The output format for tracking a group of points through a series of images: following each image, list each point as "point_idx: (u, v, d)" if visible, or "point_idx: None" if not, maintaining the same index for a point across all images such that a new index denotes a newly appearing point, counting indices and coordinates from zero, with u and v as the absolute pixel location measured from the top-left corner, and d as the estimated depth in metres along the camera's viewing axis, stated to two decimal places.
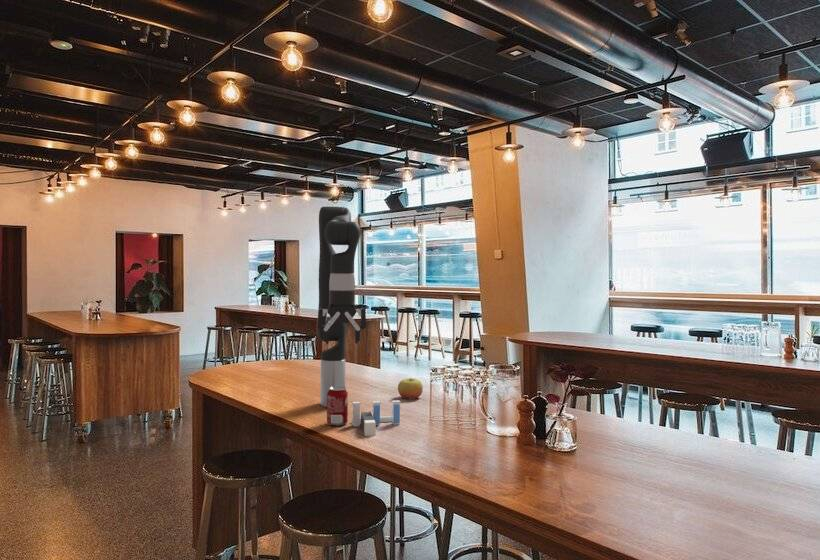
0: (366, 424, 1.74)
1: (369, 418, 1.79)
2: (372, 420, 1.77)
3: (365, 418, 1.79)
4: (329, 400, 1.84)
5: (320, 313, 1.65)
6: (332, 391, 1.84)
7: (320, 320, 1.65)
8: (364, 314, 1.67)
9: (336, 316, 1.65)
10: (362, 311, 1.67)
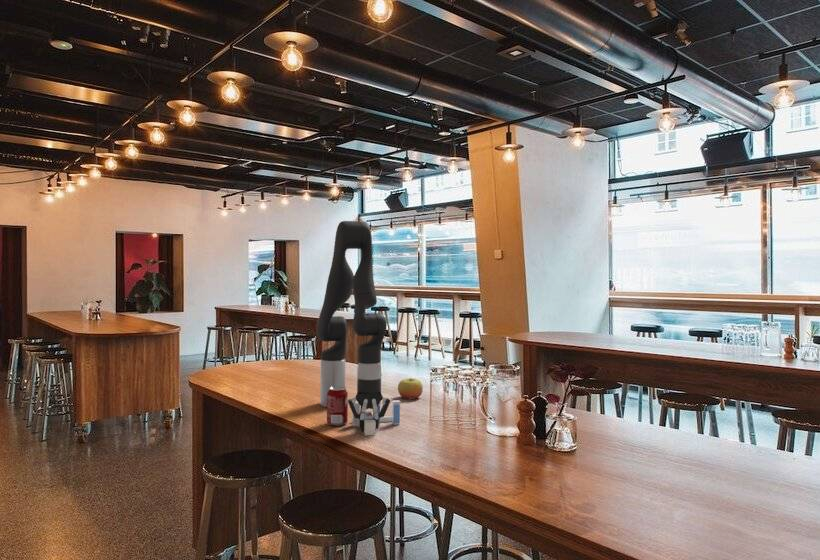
0: (366, 424, 1.74)
1: (369, 417, 1.79)
2: (372, 420, 1.76)
3: (365, 418, 1.79)
4: (329, 400, 1.84)
5: (351, 405, 1.76)
6: (332, 391, 1.84)
7: (354, 410, 1.76)
8: (387, 405, 1.78)
9: (365, 403, 1.76)
10: (387, 401, 1.78)
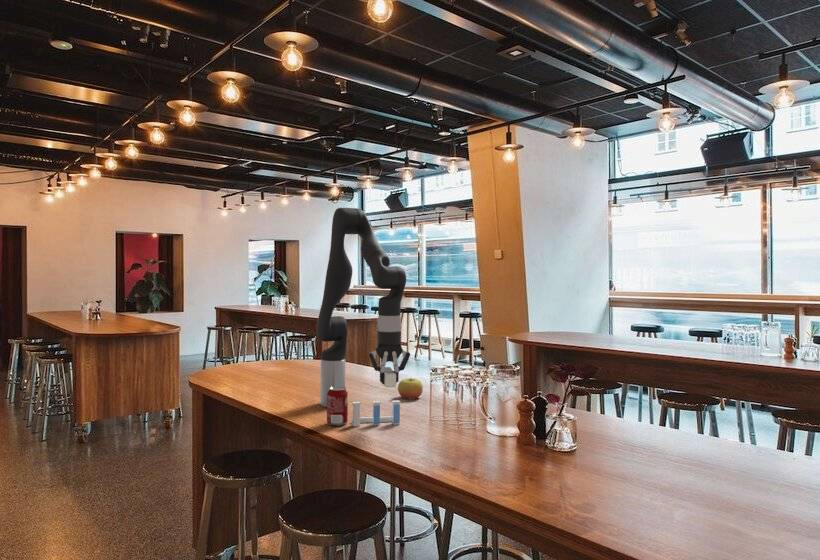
0: (387, 376, 1.74)
1: (389, 371, 1.80)
2: (392, 372, 1.77)
3: (385, 371, 1.79)
4: (329, 400, 1.84)
5: (371, 357, 1.76)
6: (332, 391, 1.84)
7: (374, 363, 1.76)
8: (407, 358, 1.78)
9: (385, 356, 1.76)
10: (407, 354, 1.78)
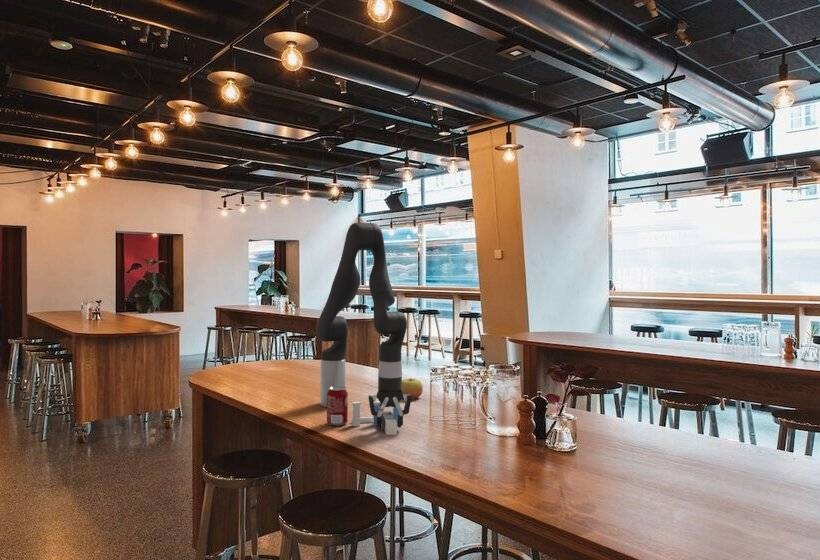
0: (387, 423, 1.75)
1: (389, 417, 1.80)
2: (393, 419, 1.78)
3: (386, 417, 1.80)
4: (329, 400, 1.84)
5: (371, 401, 1.77)
6: (332, 391, 1.84)
7: (372, 407, 1.77)
8: (409, 401, 1.79)
9: (385, 401, 1.77)
10: (408, 397, 1.79)
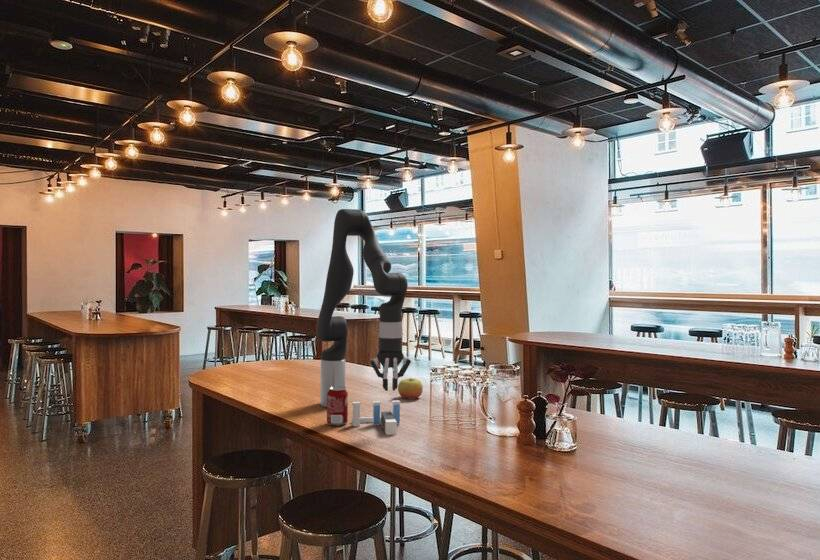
0: (387, 423, 1.75)
1: (389, 417, 1.80)
2: (393, 419, 1.78)
3: (386, 417, 1.80)
4: (329, 400, 1.84)
5: (373, 364, 1.77)
6: (332, 391, 1.84)
7: (377, 370, 1.77)
8: (407, 365, 1.79)
9: (386, 362, 1.77)
10: (407, 361, 1.79)
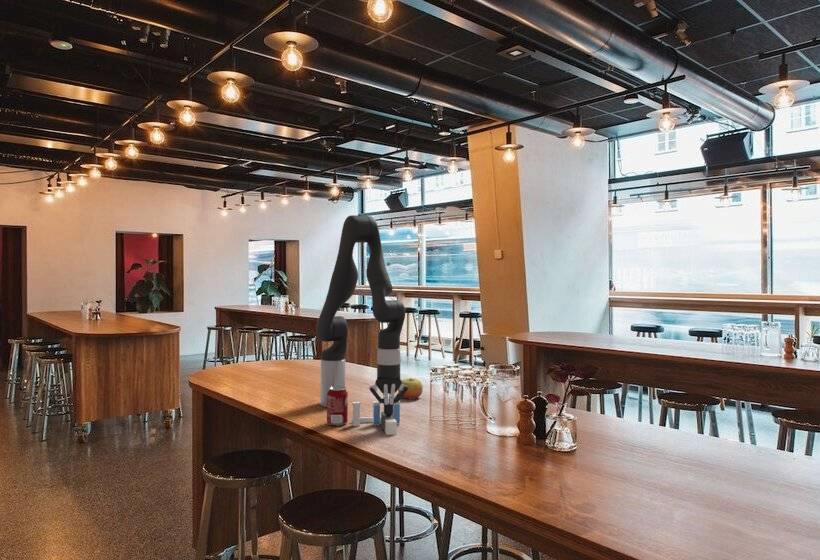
0: (387, 423, 1.75)
1: (389, 417, 1.80)
2: (393, 419, 1.78)
3: (386, 417, 1.80)
4: (329, 400, 1.84)
5: (373, 391, 1.80)
6: (332, 391, 1.84)
7: (377, 396, 1.80)
8: (404, 392, 1.82)
9: (385, 388, 1.80)
10: (405, 388, 1.82)
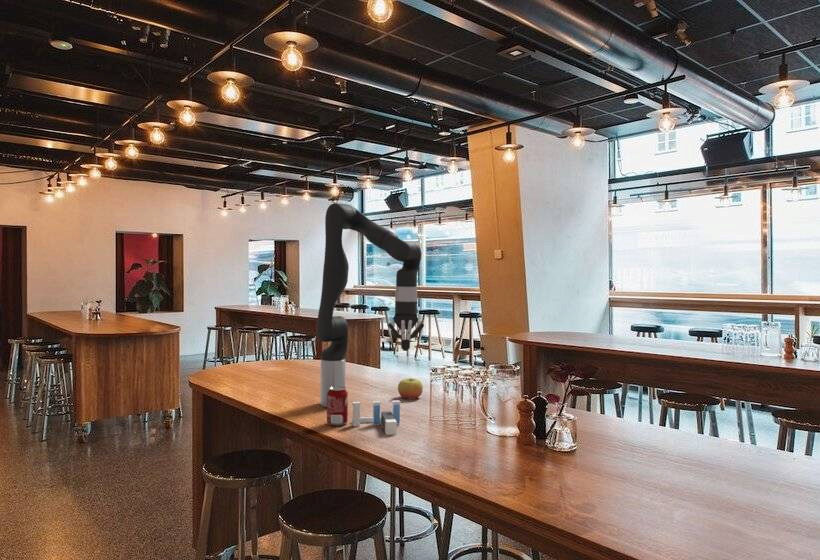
0: (387, 423, 1.75)
1: (389, 417, 1.80)
2: (393, 419, 1.78)
3: (386, 417, 1.80)
4: (329, 400, 1.84)
5: (391, 327, 1.90)
6: (332, 391, 1.84)
7: (395, 331, 1.90)
8: (420, 328, 1.91)
9: (402, 324, 1.90)
10: (421, 325, 1.91)
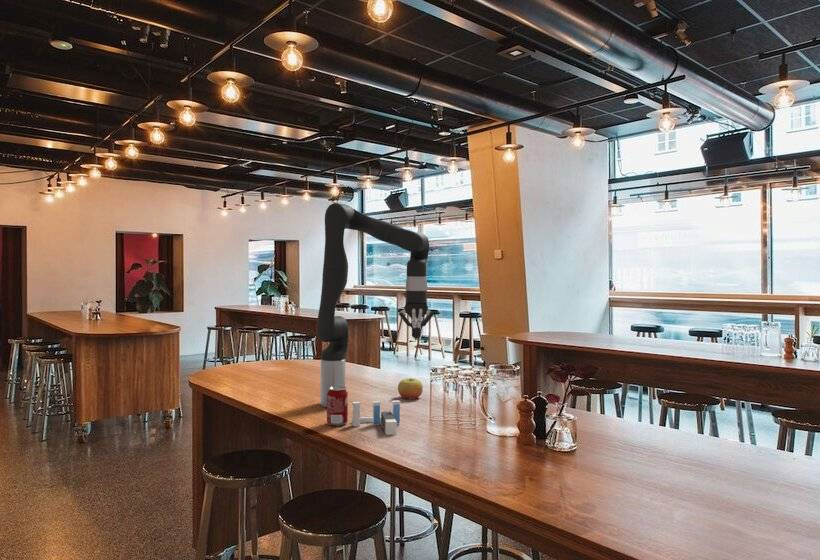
0: (387, 423, 1.75)
1: (389, 417, 1.80)
2: (393, 419, 1.78)
3: (386, 417, 1.80)
4: (329, 400, 1.84)
5: (402, 315, 1.97)
6: (332, 391, 1.84)
7: (406, 320, 1.97)
8: (430, 316, 1.99)
9: (413, 312, 1.97)
10: (431, 313, 1.99)
